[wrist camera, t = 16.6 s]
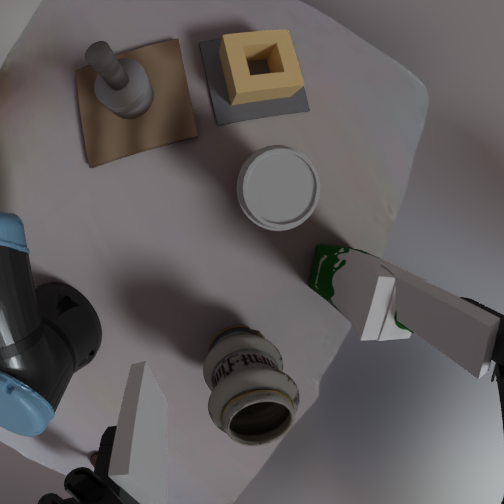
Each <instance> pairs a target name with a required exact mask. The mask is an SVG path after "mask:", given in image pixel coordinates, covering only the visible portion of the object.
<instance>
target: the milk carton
mask: <svg viewBox="0 0 504 504" xmlns="http://www.w3.org/2000/svg"><path fill="white" fill-rule="evenodd" d="M404 272H407V273H409V274H411V275H413V276H415V277H418V276H416V275H414V274H412V273H410V272H408V271H405V270H404V269H401V268H400V267H398V266H395V265H393V264H391V263H389V262H387V261H385V260H382V259H380V258H378V257H376V256H374V255H371V254H369V253H367V252H364V251H362V250H358V249H352V248H346V247H337V246H327V245H318V244H317V246H316V251H315V256H314V261H313V266H312V271H311V276H310V281H309V285H308V286H309V287H310V288H311V289H312V290H314V291H315V292H316V293H318V294H319V295H320V296H322V297H323V298H324V299H325V300H327V301H328V302H329V303H330V304H331V305H332V306H334V307H335V308H336V309H337V310H338V311H339V312H340V313H341V314H342V315H343V316H344V317H346V318H347V319H348V320H349V321H350V322H351V324H352V326H353V327H354V329H355V331H356V333H357V335H358V337H359V339H360V340H378V341H384V340H393V339H404V338H410V335H411V332H412V333H414V332H413V331H411V330H410V329H408V328H407V327H406V326H404V325H403V324H401V323H400V322H399V321H397V309H396V288H395V276H397V275H399V274H402V273H404ZM418 278H420V277H418ZM420 279H422V280H424V281H426V282H427V280H425V279H423V278H420Z"/></svg>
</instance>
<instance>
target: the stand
mask: <svg viewBox="0 0 504 504" xmlns="http://www.w3.org/2000/svg"><path fill="white" fill-rule="evenodd" d="M85 59H86V61H87V62H88V63H89V64H90V65H88V66H86V67H83V68H81V69H78V70H76V77H77V88H78V98H79V106H80V114H81V122H82V128H83V135H84V141H85V147H86V152H87V158H88V163H89V168H94V167H97V166H100V165H103V164H106V163H108V162H111V161H114V160H117V159H121V158H124V157H127V156H130V155H133V154H136V153H140V152H143V151H147V150H150V149H153V148H157V147H161V146H164V145H168V144H172V143H176V142H180V141H183V140H188V139H192V138H196V137H198V132H197V128H196V123H195V118H194V114H193V109H192V104H191V99H190V95H189V90H188V85H187V80H186V75H185V70H184V65H183V60H182V55H181V50H180V45H179V40H178V39H173V40H169V41H165V42H161V43H157V44H153V45H149V46H145V47H142V48H138V49H135V50H131V51H128V52H125V53H122V54H119V55H116V56H115V54H114V53H113V51H112V50H111V48H110V46H109V45H108V43H106V42H104V41H98V42H95V43H93V44H92V45H91V46H90V47H89V48H88V49H87V51H86V53H85Z"/></svg>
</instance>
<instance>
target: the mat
mask: <svg viewBox="0 0 504 504" xmlns="http://www.w3.org/2000/svg"><path fill="white" fill-rule="evenodd" d="M221 40H222V39H218V40H211V41H205V42H199V44H200V49H201V53H202V58H203V63H204V67H205V72H206V76H207V81H208V85H209V90H210V94H211V99H212V103H213V108H214V112H215V117H216V121H217V126H219V125H224V124H229V123H234V122H239V121H245V120H251V119H257V118H263V117H269V116H276V115H283V114H291V113H299V112H308V111H310V109H309V105H308V101H307V97H306V93H305V89H304V86H303V87H302V88H301V89H299V90H298V91H297V92H296V93H295V94H293V95H292V96H291V97H286V98H277V99H269V100H262V101H255V102H249V103H243V104H237V105H231V103H230V98H229V94H228V90H227V85H226V81H225V77H224V72H223V68H222V64H221V60H220V55H219V50H220V45H221ZM247 64H248V68H249V72H250V76H251V75H259V74H268V73H270V71H269V67H268V63H267V59H262V60H253V61H247Z"/></svg>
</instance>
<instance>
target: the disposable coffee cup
mask: <svg viewBox="0 0 504 504" xmlns="http://www.w3.org/2000/svg"><path fill="white" fill-rule="evenodd" d="M236 191H237V197H238V201H239V204H240V206H241V208H242V210H243V212H244V213H245V214H246V216H247V217H248V218H249V219H250V220H251V221H252V222H254V223H255V224H256V225H258V226H260V227H262V228H265V229H268V230H273V231H283V230H289V229H292V228H294V227H297V226H298V225H300V224H302V223H303V222H304V221H305V220H307V219H308V218H309V216H310V215H311V214H312V213H313V211H314V209H315V208H316V205H317V203H318V200H319V197H320V181H319V176H318V174H317V171H316V169H315V167H314V165H313V164H312V163H311V161H310V160H309V159H308V158H307V157H306V156H305V155H304V154H303V153H301V152H300V151H298V150H296V149H294V148H291V147H288V146H283V145H274V146H267V147H265V148H262V149H260V150H258V151H256V152H255V153H254V154H252V155H251V156H250V157H249V158H248V159H247V160H246V161H245V163H244V164H243V166H242V167H241V169H240V172H239V175H238V178H237V188H236Z"/></svg>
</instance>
